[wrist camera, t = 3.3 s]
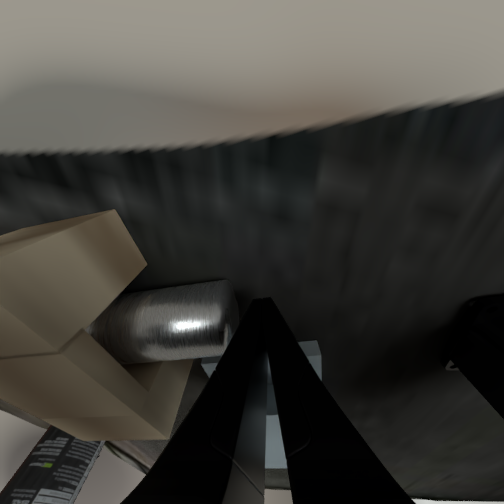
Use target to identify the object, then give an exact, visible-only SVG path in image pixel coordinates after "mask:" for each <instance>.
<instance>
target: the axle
mask: <svg viewBox="0 0 504 504" xmlns="http://www.w3.org/2000/svg"><path fill="white" fill-rule="evenodd" d="M238 326H239V309H238V302H237V299H236V296H235V293H234V290H233V287H232V284H231V282H230V281H229V280H220V281H212V282H205V283H198V284H191V285H184V286H176V287H169V288H162V289H155V290H148V291H140V292H133V293H126V294H119V295H118V296H117V297H116V298H115V299H114V300H113V301H112V302H111V303H110V304H109V305H108V306H107V307H106V309H105V310H104V311H103V312H102V313H101V314H100V315H99V316H98V317H97V318H96V319H95V320H94V321H93V322H92V323H91V324H90V325H89V326H88V327H87V328H86V329H85V331H86V332H87V333H88V334H89V335H90V336H91V337H92V338H93V339H94V340H95V341H96V342H97V343H98V344H99V345H100V346H101V347H103V348H104V349H105V350H106V351H107V352H108V353H109V354H110V355H111V356H112V357H113V358H114V359H115V360H116V361H117V362H118V363H119V364H120V365H121V364H133V363H146V362H158V361H170V360H182V359H194V358H207V357H219V356H222V355H223V353H224V351H225V349H226V347H227V346H228V344H229V342H230V340H231V338H232V337H233V335H234V333H235V331H236V329H237V328H238Z"/></svg>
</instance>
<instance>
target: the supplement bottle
mask: <svg viewBox="0 0 504 504" xmlns="http://www.w3.org/2000/svg"><path fill="white" fill-rule="evenodd" d="M104 443H105V441H82V440H80V439H78V438H76V437H74V436H72V435H70V434H69V433H67V432H65V431H63V430H61V429H59V428H57V427H55V426H53V425H51V426H50V427H49V428H48V430H47V431H46V432H45V434H44V435H43V436H42V438H41V439H40V440H39V442H38V443H37V444H36V446H35V447H34V449H33V450H32V451H31V452H30V454H29V455H28V457H27V458H26V459H25V461H24V462H23V463H22V465H21V466H20V467H19V469H18V470H17V471H16V473H15V474H14V476H13V477H12V478H11V479H10V481H9V482H8V483H7V485H6V486H5V487H4V489H3V490H2V491H1V493H0V504H73V503H74V502H75V499H76V497H77V496H78V494H79V492H80V490H81V488H82V485H83V484H84V482H85V480H86V478H87V476H88V474H89V472H90V470H91V468H92V466H93V464H94V462H95V460H96V459H97V458H98V457H99V456H98V455H99V453H100V451H101V450H102V447H103V445H104Z"/></svg>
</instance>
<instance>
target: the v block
mask: <svg viewBox="0 0 504 504" xmlns="http://www.w3.org/2000/svg"><path fill="white" fill-rule="evenodd" d="M298 343H299V345H300V347H301V348H302V350H303V352H304V353H305V355H306V357H307V358H308V360H309V362H310V363H311V365H312V366H313V368H314V370H315V371H316V373H317V375H318V376H319V378H320V379H321V381H322V370H321V352H320V349H319V346H318V342H317V340H315V341H303V342H298ZM221 357H222V356H219V357H207V358H202V362H201V365H202V367H203V368H204V370H205V372H206V373H207V375H208V377H209V378H210V376H211V375H212V373H213V371H214V370H215V367H216V366H217V364H218V362H219V360H220V358H221ZM215 371H216V370H215ZM286 462H287V461H286V458H285V452H284V446H283V440H282V435H281V429H280V423H279V418H278V412H277V406H276V400H275V395H274V389H273V383H272V377H271V372H270V366H269V360H268V378H267V415H266V451H265V468H287V463H286Z"/></svg>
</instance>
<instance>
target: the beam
mask: <svg viewBox="0 0 504 504" xmlns="http://www.w3.org/2000/svg"><path fill="white" fill-rule="evenodd" d="M147 265H148V264H147V263H146V261H145V259H144V257H143V256H142V254H141V252H140V251H139V249H138V247H137V246H136V244H135V242H134V241H133V239H132V237H131V235H130V234H129V232H128V230H127V229H126V227H125V225H124V224H123V222H122V220H121V218H120V217H119V215H118V213H117V212H116V210H115V209H113V210H108V211H104V212H99V213H94V214H89V215H84V216H79V217H75V218H70V219H65V220H60V221H55V222H50V223H46V224H41V225H36V226H31V227H26V228H22V229H19V230H16V231H13V232H10V233H7V234H4V235H1V236H0V399H2V400H4V401H5V402H7V403H9V404H11V405H13V406H15V407H17V408H19V409H21V410H23V411H25V412H27V413H29V414H31V415H33V416H35V417H37V418H39V419H41V420H43V421H45V422H47V423H49V424H51V425H53V426H55V427H57V428H59V429H61V430H63V431H65V432H67V433H69V434H70V435H72V436H74V437H76V438H78V439H80V440H82V441H113V440H168V439H169V438H170V434H171V431H172V428H173V425H174V422H175V418H176V415H177V412H178V409H179V405H180V402H181V399H182V396H183V393H184V389H185V386H186V383H187V380H188V376H189V373H190V370H191V367H192V363H193V360H194V359H182V360H170V361H158V362H146V363H133V364H121V365H120V364H119V363H118V362H117V361H116V360H115V359H114V358H113V357H112V356H111V355H110V354H109V353H108V352H107V351H106V350H105V349H104V348H103V347H101V346H100V345H99V344H98V343H97V342H96V341H95V340H94V339H93V338H92V337H91V336H90V335H89V334H88V333H87V332H86V331H85V329H86V328H87V327H88V326H89V325H90V324H91V323H92V322H93V321H94V320H95V319H96V318H97V317H98V316H99V315H100V314H101V313H102V312H103V311H104V310H105V309H106V307H107V306H108V305H109V304H110V303H111V302H112V301H113V300H114V299H115V298H116V297H117V296H118V295H119V294H120V293H121V292H122V291H123V290H124V289H125V288H126V287H127V286H128V285H129V283H130V282H131V281H132V280H133V279H134V278H135V277H136V276H137V275H138V274H139V273H140V272H141V271H142V270H143V269H144V268H145V267H146V266H147Z"/></svg>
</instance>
